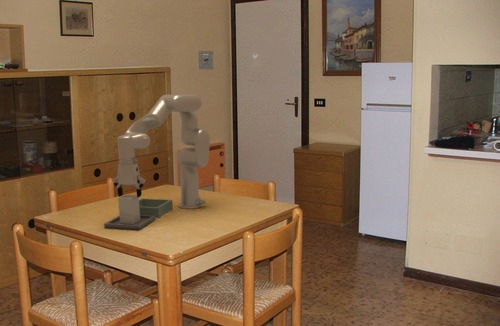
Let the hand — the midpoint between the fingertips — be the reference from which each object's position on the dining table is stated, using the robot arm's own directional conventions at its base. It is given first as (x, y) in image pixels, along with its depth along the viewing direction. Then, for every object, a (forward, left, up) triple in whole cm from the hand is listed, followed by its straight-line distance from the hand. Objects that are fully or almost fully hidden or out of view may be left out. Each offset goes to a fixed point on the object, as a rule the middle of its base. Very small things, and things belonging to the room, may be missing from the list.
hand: (129, 196), depth 275 cm
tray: (0, 0, -14) cm, 14 cm away
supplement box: (+1, 0, -13) cm, 13 cm away
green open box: (0, -22, -14) cm, 26 cm away
